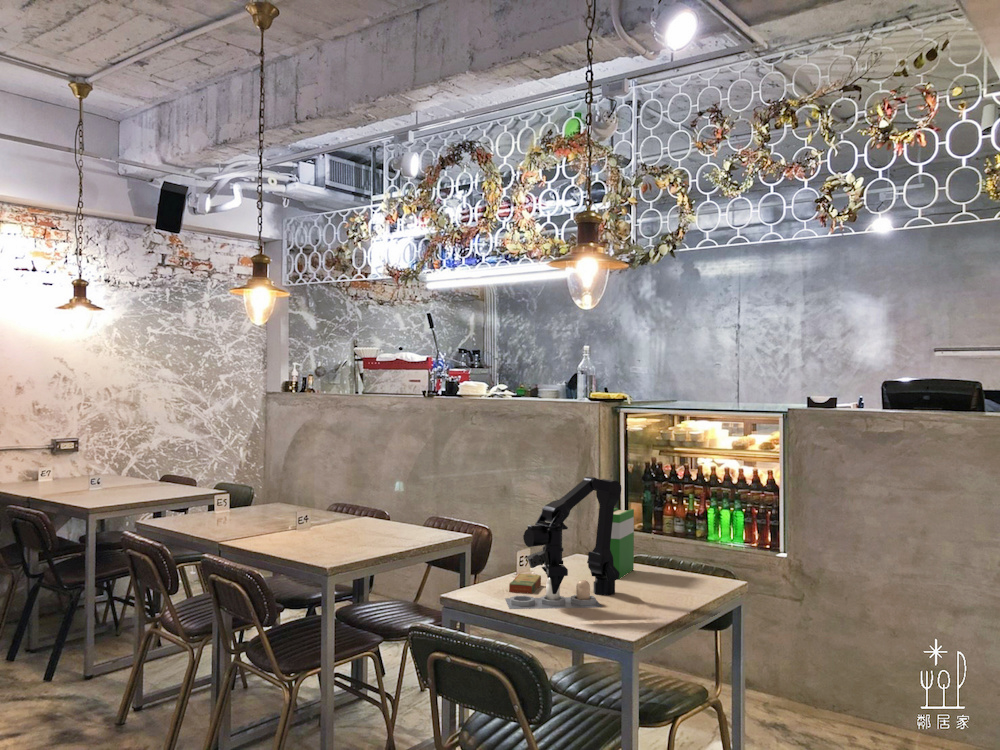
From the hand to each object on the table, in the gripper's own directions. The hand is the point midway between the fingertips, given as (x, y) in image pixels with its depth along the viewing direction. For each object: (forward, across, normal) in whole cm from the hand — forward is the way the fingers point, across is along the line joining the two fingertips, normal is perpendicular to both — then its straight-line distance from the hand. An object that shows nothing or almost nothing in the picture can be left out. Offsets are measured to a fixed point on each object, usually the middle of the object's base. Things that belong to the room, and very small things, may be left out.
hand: (553, 592), depth 253 cm
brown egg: (+3, 0, +10) cm, 11 cm away
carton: (+5, -21, -6) cm, 22 cm away
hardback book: (+5, -44, +33) cm, 55 cm away
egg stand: (+4, 0, 0) cm, 4 cm away
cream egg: (+2, 0, 0) cm, 2 cm away
